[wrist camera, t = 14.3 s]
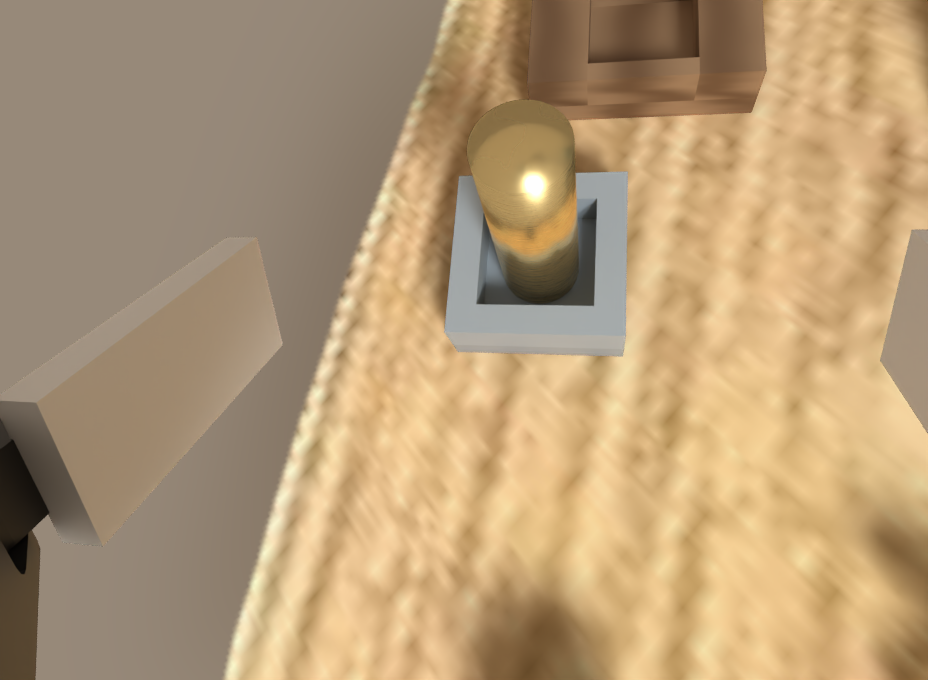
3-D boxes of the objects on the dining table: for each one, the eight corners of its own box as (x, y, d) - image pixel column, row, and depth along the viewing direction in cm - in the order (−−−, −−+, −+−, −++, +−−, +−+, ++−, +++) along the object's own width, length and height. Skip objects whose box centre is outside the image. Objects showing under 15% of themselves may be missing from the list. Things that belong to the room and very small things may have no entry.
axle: (561, 222, 41) (548, 83, 29) (591, 285, 40) (592, 166, 28) (492, 251, 42) (452, 125, 29) (519, 315, 40) (489, 209, 28)
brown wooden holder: (745, -2, 45) (759, -52, 42) (751, 112, 43) (766, 70, 39) (539, 13, 48) (534, -32, 44) (532, 121, 46) (526, 83, 42)
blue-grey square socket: (625, 205, 43) (627, 171, 39) (622, 356, 40) (625, 336, 36) (470, 207, 45) (459, 176, 41) (458, 351, 42) (444, 332, 38)
